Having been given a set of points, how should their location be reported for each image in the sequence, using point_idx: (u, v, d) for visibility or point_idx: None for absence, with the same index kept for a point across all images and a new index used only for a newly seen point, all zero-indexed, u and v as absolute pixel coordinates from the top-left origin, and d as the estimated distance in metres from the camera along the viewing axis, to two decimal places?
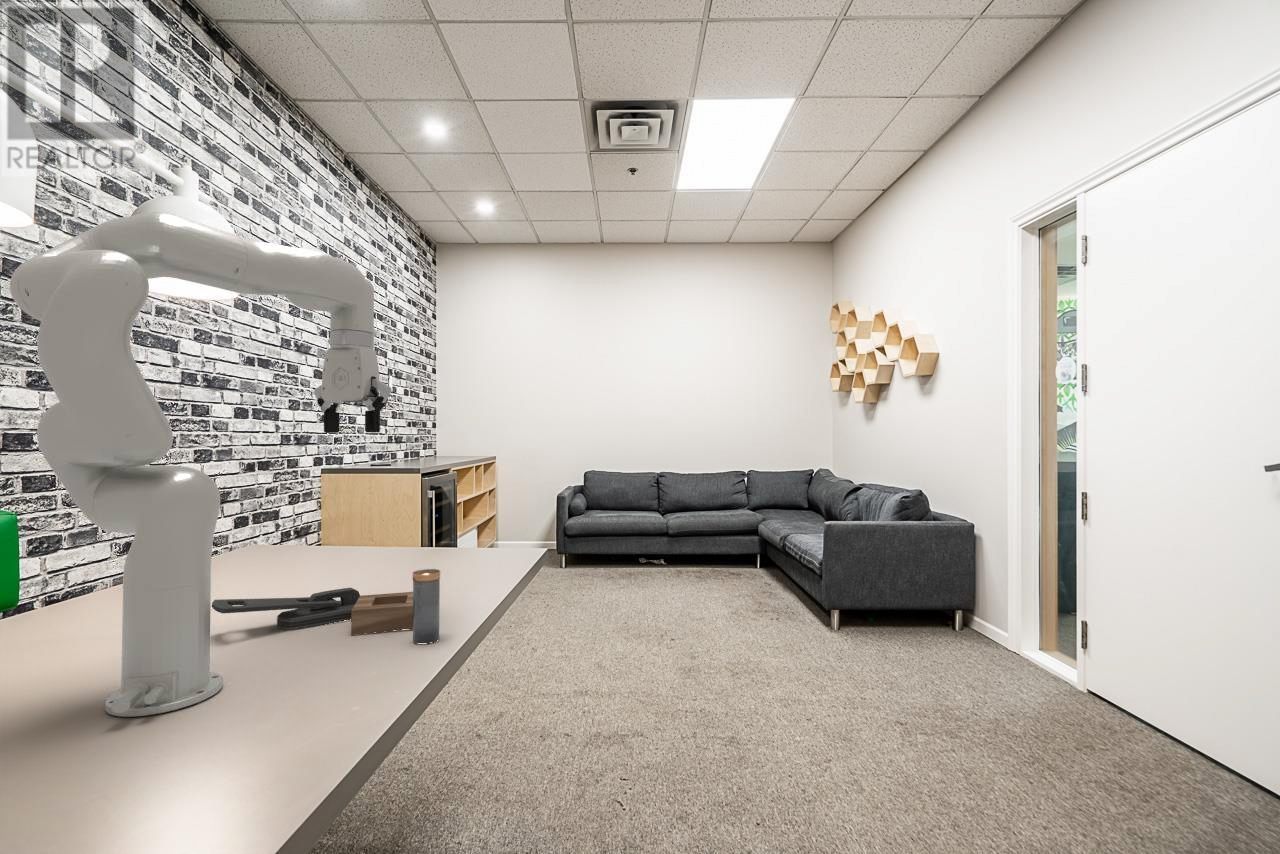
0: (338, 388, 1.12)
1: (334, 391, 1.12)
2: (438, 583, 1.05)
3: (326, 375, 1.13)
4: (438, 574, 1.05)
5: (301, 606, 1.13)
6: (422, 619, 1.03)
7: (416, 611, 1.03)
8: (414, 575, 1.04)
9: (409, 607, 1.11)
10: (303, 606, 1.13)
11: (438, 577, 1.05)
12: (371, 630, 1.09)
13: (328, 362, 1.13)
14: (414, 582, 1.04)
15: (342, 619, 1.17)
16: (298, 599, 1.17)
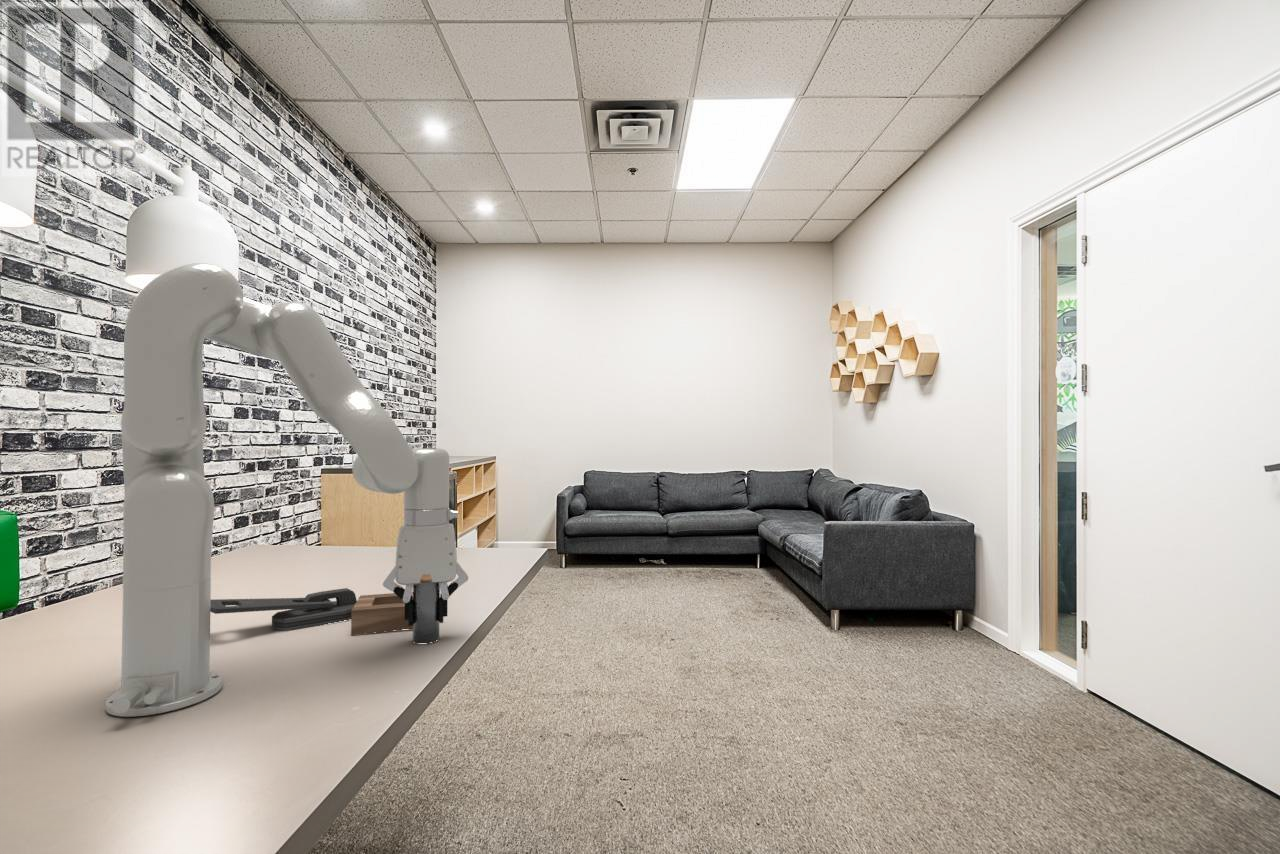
0: None
1: None
2: (438, 583, 1.05)
3: None
4: None
5: (295, 607, 1.12)
6: (422, 619, 1.03)
7: (416, 611, 1.03)
8: None
9: None
10: (297, 607, 1.13)
11: None
12: (371, 630, 1.09)
13: None
14: None
15: (337, 620, 1.16)
16: (293, 599, 1.16)
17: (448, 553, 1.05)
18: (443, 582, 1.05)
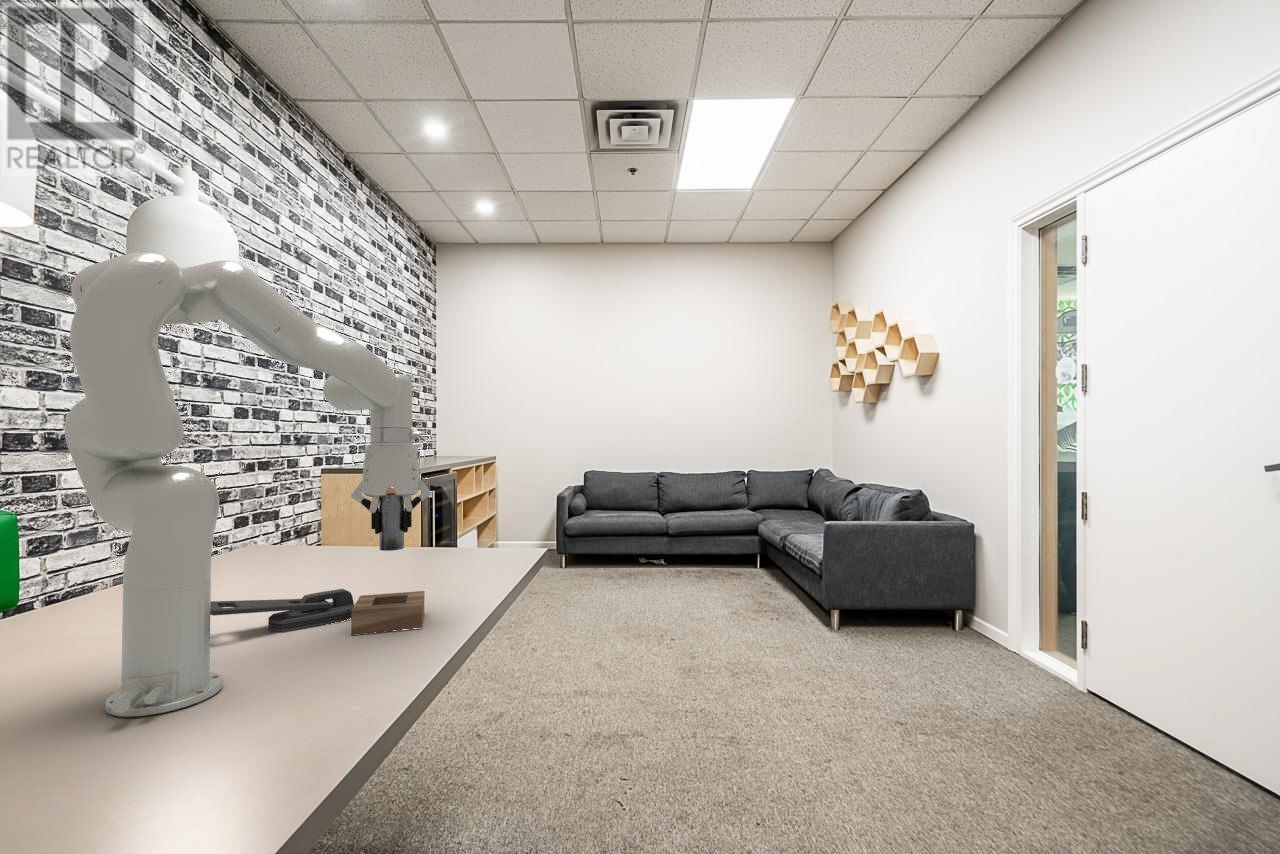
0: None
1: None
2: (402, 496, 1.16)
3: None
4: None
5: (293, 608, 1.12)
6: (388, 527, 1.14)
7: (382, 520, 1.14)
8: None
9: (409, 607, 1.11)
10: (295, 608, 1.12)
11: None
12: (371, 630, 1.09)
13: None
14: None
15: (334, 621, 1.15)
16: (290, 601, 1.15)
17: (411, 469, 1.15)
18: (407, 495, 1.15)
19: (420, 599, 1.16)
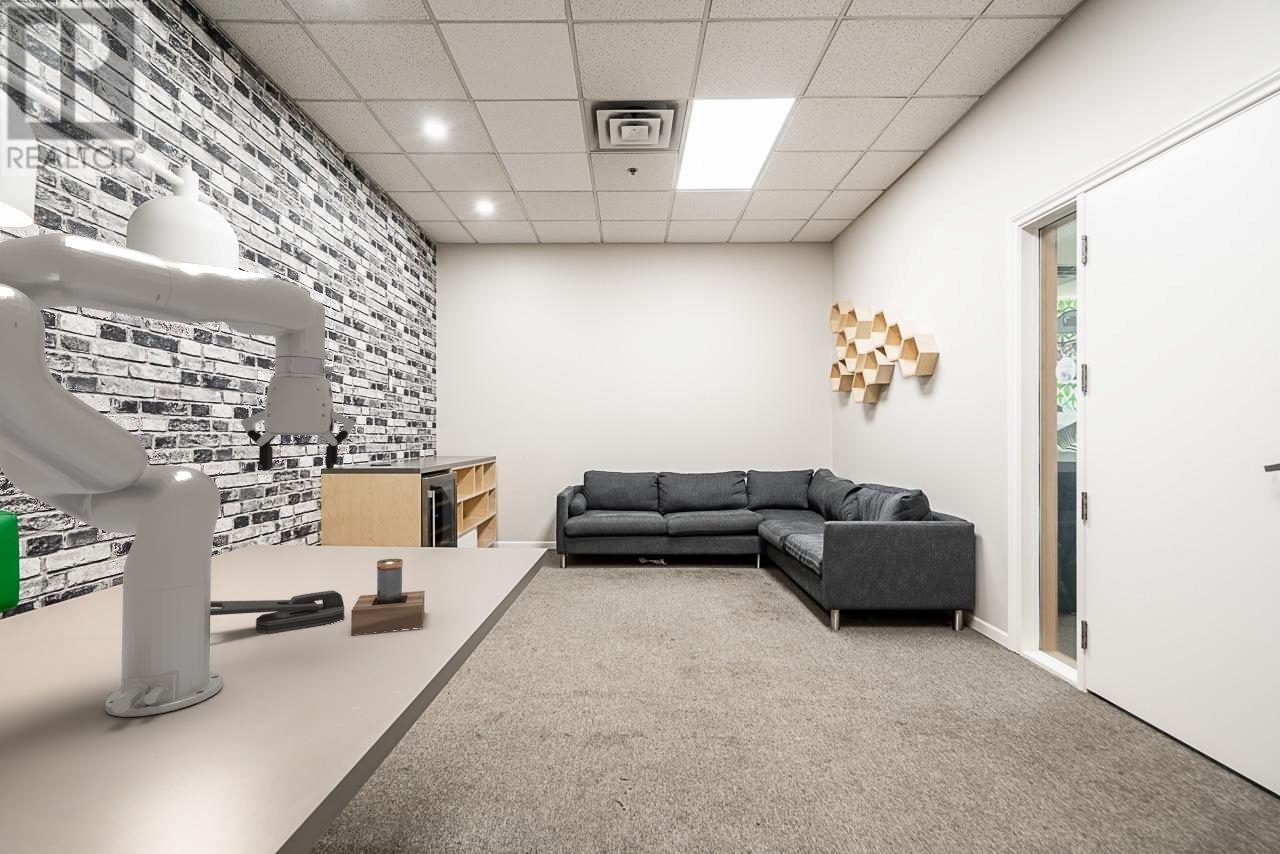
0: None
1: None
2: (400, 571, 1.15)
3: None
4: (400, 563, 1.15)
5: (279, 609, 1.11)
6: None
7: (380, 597, 1.13)
8: (378, 564, 1.14)
9: (409, 607, 1.11)
10: (281, 609, 1.11)
11: (400, 566, 1.15)
12: (371, 630, 1.09)
13: None
14: (378, 570, 1.14)
15: (322, 623, 1.14)
16: (278, 602, 1.15)
17: (320, 404, 1.03)
18: None
19: (420, 599, 1.16)
